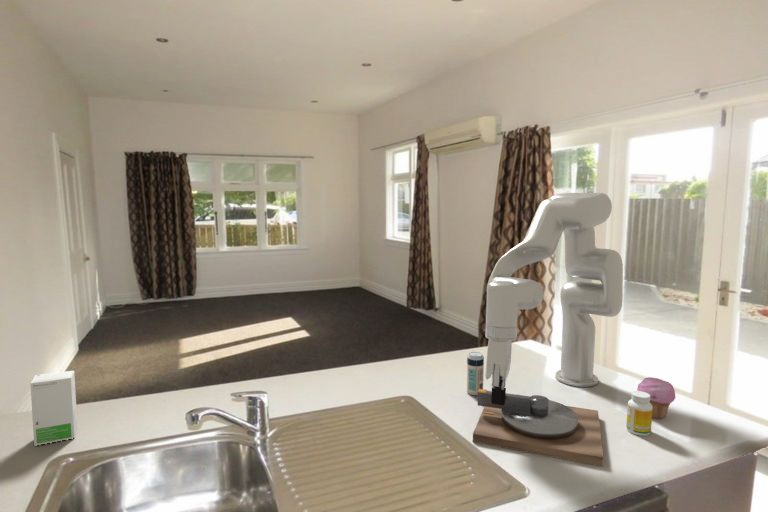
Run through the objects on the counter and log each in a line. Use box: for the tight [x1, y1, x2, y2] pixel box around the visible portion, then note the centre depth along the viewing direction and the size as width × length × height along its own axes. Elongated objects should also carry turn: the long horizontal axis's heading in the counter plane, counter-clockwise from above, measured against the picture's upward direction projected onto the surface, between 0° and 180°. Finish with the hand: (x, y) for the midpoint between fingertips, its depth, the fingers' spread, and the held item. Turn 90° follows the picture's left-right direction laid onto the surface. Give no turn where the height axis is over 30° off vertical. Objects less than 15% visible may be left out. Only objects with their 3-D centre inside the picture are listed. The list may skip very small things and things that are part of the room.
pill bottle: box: [466, 351, 485, 397], centre depth 136 cm, size 5×5×12 cm
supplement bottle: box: [625, 390, 653, 437], centre depth 113 cm, size 5×5×10 cm
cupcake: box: [636, 376, 676, 419], centre depth 121 cm, size 9×9×10 cm
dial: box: [477, 388, 578, 439], centre depth 116 cm, size 24×18×6 cm
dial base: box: [472, 405, 604, 467], centre depth 115 cm, size 24×28×2 cm
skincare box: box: [30, 370, 78, 447], centre depth 112 cm, size 8×7×16 cm
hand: (498, 403), depth 115 cm, fingers closed
